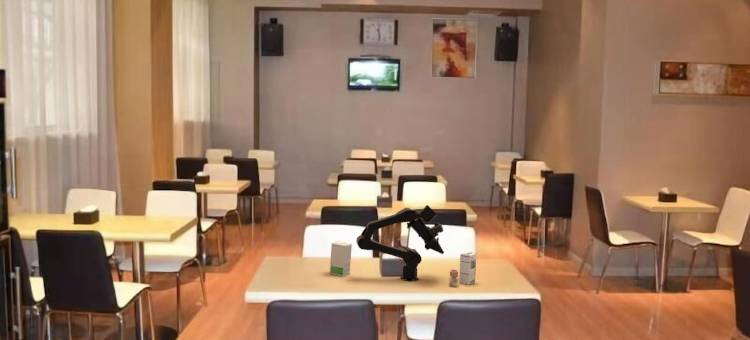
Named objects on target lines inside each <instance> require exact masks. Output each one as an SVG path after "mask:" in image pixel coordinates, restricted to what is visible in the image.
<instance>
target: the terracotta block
mask: <svg viewBox="0 0 750 340" xmlns="http://www.w3.org/2000/svg"><path fill="white" fill-rule="evenodd" d="M450 276H452V277H458V278H459V269H449V277H450Z"/></svg>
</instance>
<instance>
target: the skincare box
mask: <svg viewBox="0 0 750 340" xmlns="http://www.w3.org/2000/svg"><path fill="white" fill-rule="evenodd" d="M352 245H353V244H352V243H351V242H350V243H349V242H345V241H341V240H337V241H334V242H332V243H331V246H330V247H331V248H330V263H329V275H332V276H333V275H334V276H339V277H343V278H344V277H347V276H349V275H350V274H351V263H352V261H351V259H352V249H353V248H352V247H353V246H352Z"/></svg>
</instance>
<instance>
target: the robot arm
mask: <svg viewBox="0 0 750 340" xmlns="http://www.w3.org/2000/svg"><path fill="white" fill-rule="evenodd" d="M437 216H438V214H437V213H436V212H435V210H434V209H432V208H431V207H430V206H429V204H426V205H425V206H424V207H423V208H422V209H421V210H420V211H416V210H413V209H412V208H410V207H404V208H403V209H400V210H399V211H397V212H396V213H394V214H391V215H389V216H386V217H382V218H379V219H375V220H372V221H369V222H368V223H367V224H366V225H365V228H364V229H363V230H362V232H361V234H360V235H359V236H357V238H356V245H357V247H358V248H359V249H361V250H362V251H363V250H364V251H375V252H379V253H383V254H386V255H390V256H393V257H396V258H400V259H402V262H403V265H404V266H402V276H400V279H401V280H405V281H407V282H411V281H412V282H413V281H417V280H419V279H420V278H419V277H418V266H419V265H420V264H421V262H422V259H423V258H422V256H421V254H420V253H419V251H417V250H416V248H410V247H409V246H408V247H406V249H402V248H398V247H395V246H391V245H389V244H386V243H382V242H378V241H376V240H374V239H372V238H373V235H374V232H375V231H377V230H379V229H382V228H385V227H388V226H391V225H395V224H399V223H406V229H410V228H411V229H413V231H415V232H416V234H417V235H418V237H419V238H420V239H422V241H423V242H424V248H425V250H426V251H429V250H432V251H434V252H436V253H438V254H441V255H443V254H445V251H444V250H443V248H442V246H441V244H440V243H439V241H440V240H439V239H440V237H438V236H439V234H440V233H443V232H444V227H443V225H442V224H441V223H439V222H435V223H433V225H434V226H432V227H430V226H429V225H426V224H425V223H430V222H431V221H433V219H434V218H436V217H437ZM436 237H437V238H436Z"/></svg>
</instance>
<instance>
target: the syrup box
mask: <svg viewBox="0 0 750 340" xmlns="http://www.w3.org/2000/svg"><path fill="white" fill-rule="evenodd" d="M459 254H460V255H459V258H460V259H459V274H458V284H459V283H460V284H462V283H463V285H469V286H470V285H472V284H474V283H476V268H477V267H476V264H477V253H476V252H471V251H465V252H462V253H459Z"/></svg>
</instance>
